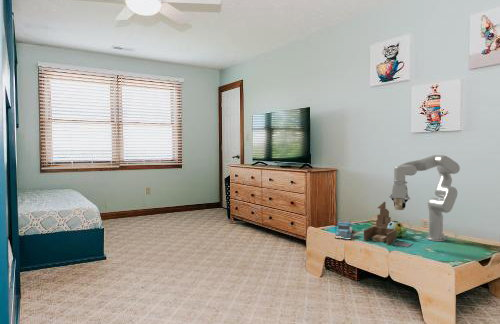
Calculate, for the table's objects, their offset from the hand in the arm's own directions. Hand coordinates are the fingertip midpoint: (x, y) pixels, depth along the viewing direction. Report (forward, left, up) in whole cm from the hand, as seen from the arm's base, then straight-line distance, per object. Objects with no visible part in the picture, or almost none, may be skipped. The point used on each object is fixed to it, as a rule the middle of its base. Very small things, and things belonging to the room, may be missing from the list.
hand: (399, 207), depth 262 cm
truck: (+43, +2, -28) cm, 51 cm away
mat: (-3, 0, -27) cm, 27 cm away
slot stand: (+14, 0, -27) cm, 31 cm away
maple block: (0, 0, -1) cm, 1 cm away
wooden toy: (+22, -30, -27) cm, 46 cm away
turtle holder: (+8, -19, -27) cm, 34 cm away
